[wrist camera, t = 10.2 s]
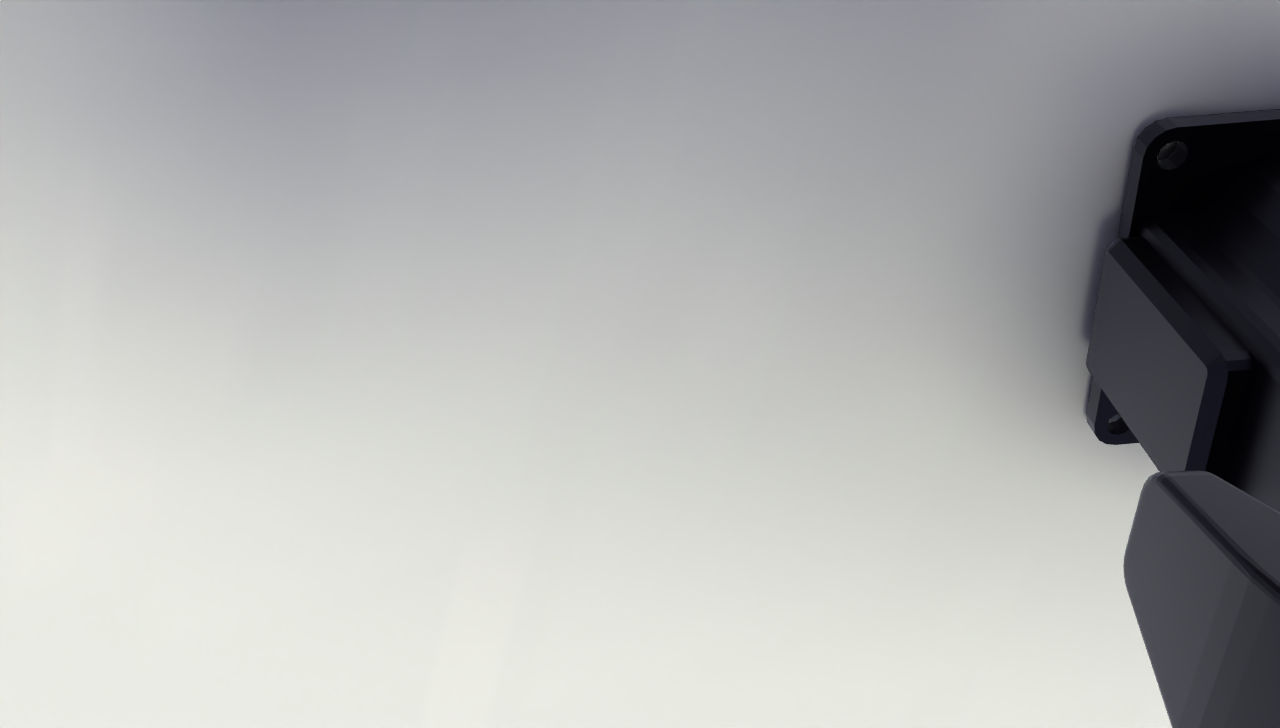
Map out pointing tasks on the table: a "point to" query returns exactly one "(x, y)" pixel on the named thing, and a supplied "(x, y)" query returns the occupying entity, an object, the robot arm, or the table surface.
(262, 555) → the table surface
